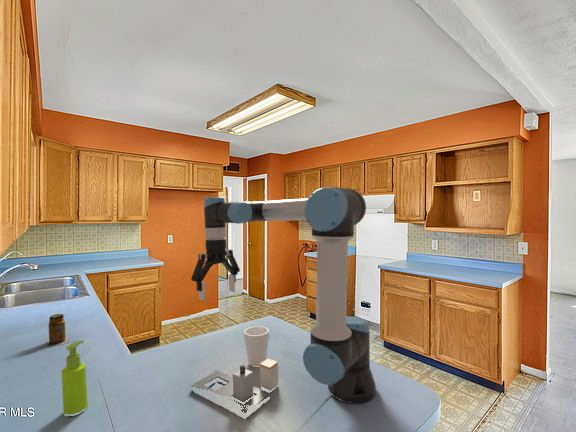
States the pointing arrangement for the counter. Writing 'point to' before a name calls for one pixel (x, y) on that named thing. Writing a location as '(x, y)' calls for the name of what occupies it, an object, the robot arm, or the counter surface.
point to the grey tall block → (243, 384)
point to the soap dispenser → (74, 382)
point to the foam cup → (256, 344)
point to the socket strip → (231, 389)
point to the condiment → (56, 330)
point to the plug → (269, 374)
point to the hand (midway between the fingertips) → (217, 295)
